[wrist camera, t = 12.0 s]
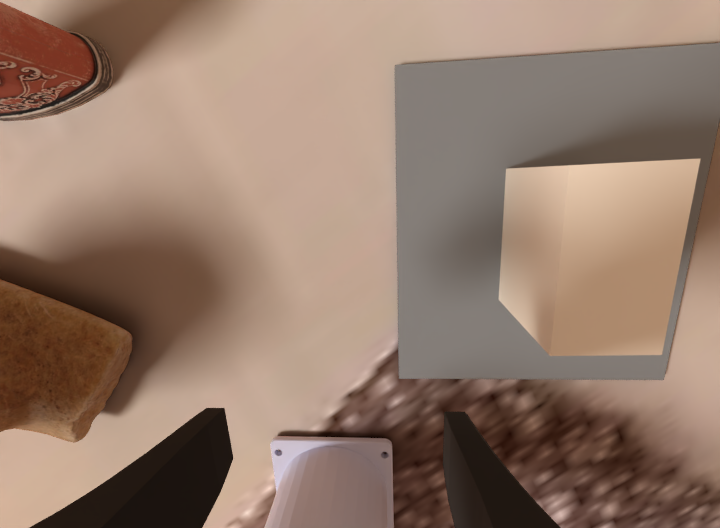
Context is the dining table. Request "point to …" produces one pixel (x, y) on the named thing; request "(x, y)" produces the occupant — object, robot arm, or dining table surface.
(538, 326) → the cream block
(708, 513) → the dining table surface
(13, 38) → the red patterned tin
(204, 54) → the dining table surface
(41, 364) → the brown bookend
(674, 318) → the slate mat
